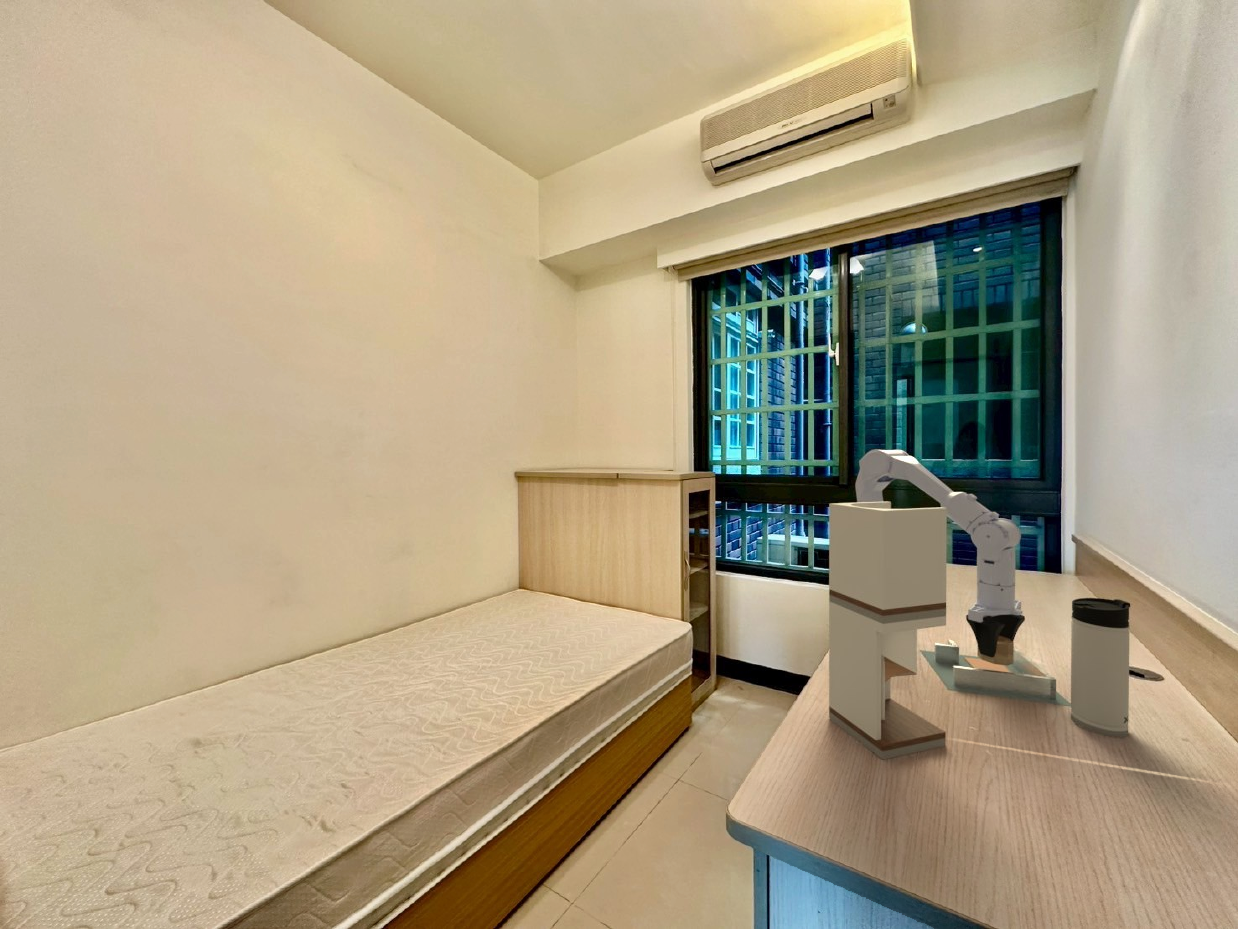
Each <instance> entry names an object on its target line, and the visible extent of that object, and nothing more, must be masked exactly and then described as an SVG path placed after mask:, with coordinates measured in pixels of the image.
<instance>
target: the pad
mask: <svg viewBox="0 0 1238 929" xmlns="http://www.w3.org/2000/svg"><path fill="white" fill-rule="evenodd" d="M964 659H965V660H966V661H967V662H968V663H969V664H970V666H971V667H972V668H977V669H986V670H994V671H1002V672H1010V671H1009V670H1008V669H1007V668H1006V667H1005V666H1004V665H998V664H993V663H990V662H987V661H984V660H982V659H975V658H966V657H964ZM1010 673H1011V672H1010Z"/></svg>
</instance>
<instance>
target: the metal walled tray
mask: <svg viewBox="0 0 1238 929" xmlns="http://www.w3.org/2000/svg"><path fill="white" fill-rule="evenodd" d="M934 652H935V661H936V662H943V663H951V664H959V655H960V647H959V645H957V643H956V642H955V641H954V640H953V639H947V644H945V643H937V642H935V643H934ZM1012 665H1013V666H1014V667H1015V668H1016V669H1017V670H1018V671H1019V672H1021V673H1022V674H1019V673H1010V672H1002V671H994V670H986V669H977V668H969V667H961V666H953V685H954V686H955V687H963V688H970V689H978V690H985V691H993V692H1000V693H1008V694H1015V695H1023V696H1030V697H1038V698H1045V699H1053V700H1056V691H1057V679H1056V678H1055V677H1054V676H1052V675H1051V674H1050V673H1048V672H1047V671H1046V670H1045V669H1043V668H1042V667H1041V666H1039V664H1037V663H1036V662H1035V661H1034V660H1032V658H1030V657H1029V656H1027V655H1026V654H1025V653H1024V652H1022V651H1021V650H1020V649H1019V648H1018V647H1016V646H1015V645H1014V660H1013V664H1012Z"/></svg>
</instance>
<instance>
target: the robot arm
mask: <svg viewBox="0 0 1238 929" xmlns="http://www.w3.org/2000/svg"><path fill="white" fill-rule="evenodd" d="M858 461H859V462H858V463H859V465H858V466H859V472H858V474H857V477H856V481H855V493H856V494H855V496H856V503H859V502H884V497H883V490H884V489H886V487H888V485H890V483H892V482H893V481H895V480H898V479H899V480H906V481H908V482H910V483H911V484H913V485H914V486H915V487H917V488H919V489H920V490H921V491H923V492H925V494H927V495H928V496H929V497H931V498H933V499H934V500H935V501H936V502H938V503H939V504H940V507H942V508H947V518H949V519H950V520H952V521H953V522H954V523H955V524H956V525H958V526H959V527H960V528H961V529H963V530H964V532H966V533H967V534H969V535H970V539H971V541H972V543H973V545H974V546H975V547H976V548H977V549H976V551H977V553H976V554H977V556H976V601H975V602H974V604H973V605H972V606H971V608H968V609H967V611H968V613H967V614H966V616H965V621H967V623H968V625H969V626H970V628H971V630H972V632H973V635H974V637H975V640H976V644H977V649H978V648H979V651H980V654H983V655H986V656H989V657H994V656H995V653H996V648H997V641H998V637H999V636H1002V637H1006V638H1009V639H1010V640H1011V641H1013V642H1014V641H1015V637H1016V634H1017V633H1018V631H1019V629H1020V627H1021V626H1022V624H1023V623H1025V620H1026V617H1025V616H1024V615H1023V610H1022V601H1021V600H1017V599H1016V546H1017V545H1018V544H1019V543H1020V541H1021V538H1022V533H1021V530H1020V529H1019V527H1018V526H1017V525H1016V524H1015V522H1014V521H1013V520H1010V519H1007V518H1004V517H1003V518H1001V517H1000V518H999V516H1000V514H999V513H997V512H996V511H991V510H989V509H988V508H987V507H986V506H984V505H983V504H981V503H980V502H978V501H977V499H978V497H977V496H976V495H975V494H973V493H967V492H964V491H954V490H952V489H951V488H950V487H949V486H948V485H946V484H945V483H944V482H943V481H941V480H940V479H939V478H938V477H936V476H935V475H934V474H933V473H932V472H930V470H928V469H927V468H926V467H925V466H923V465H922V464H921V463H920V462H919V461H918V459H917V458H915V457H914V456H912V455H909V453H907V452H906V451H904V450H902V449H887V450H886V449H871V450H869V451H868V452H866V454H864V455H863V456H862V458H860V460H858Z"/></svg>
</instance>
